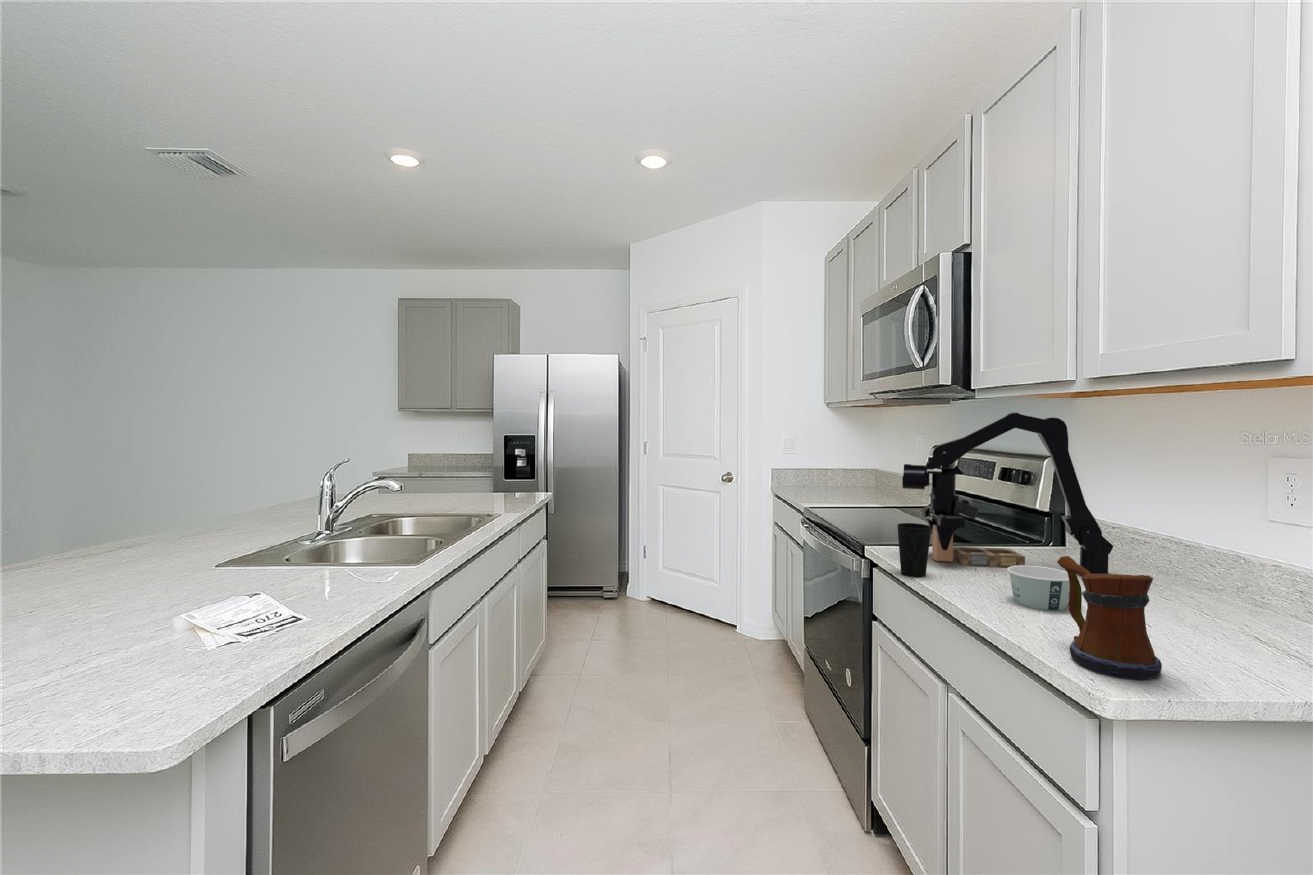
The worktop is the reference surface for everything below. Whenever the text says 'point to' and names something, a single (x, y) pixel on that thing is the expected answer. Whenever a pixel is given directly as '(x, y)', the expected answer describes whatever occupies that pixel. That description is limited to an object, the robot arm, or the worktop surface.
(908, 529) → the cup
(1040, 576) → the food container
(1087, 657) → the mug
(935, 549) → the tan rectangular block
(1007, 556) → the socket block
